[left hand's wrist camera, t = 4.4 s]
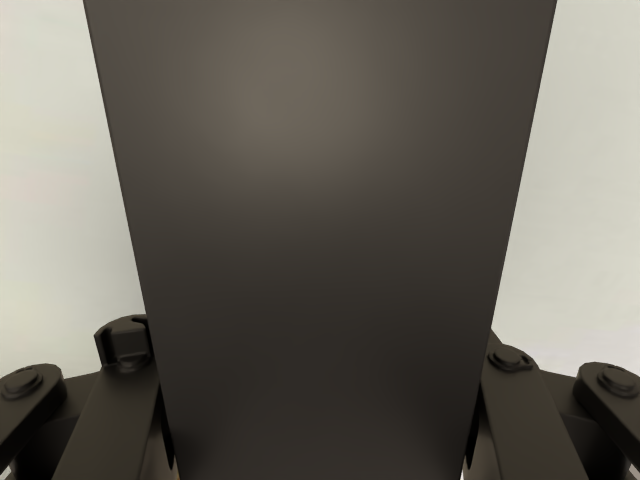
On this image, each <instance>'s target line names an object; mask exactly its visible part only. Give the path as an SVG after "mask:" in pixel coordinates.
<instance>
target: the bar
mask: <svg viewBox="0 0 640 480" xmlns="http://www.w3.org/2000/svg"><path fill="white" fill-rule="evenodd" d="M83 4H84V9H85V14H86V19H87V23H88V28H89V33H90V38H91V43H92V48H93V53H94V58H95V63H96V68H97V73H98V78H99V83H100V88H101V93H102V98H103V103H104V108H105V113H106V117H107V122H108V127H109V132H110V137H111V142H112V147H113V152H114V157H115V162H116V167H117V172H118V177H119V182H120V187H121V192H122V197H123V202H124V207H125V211H126V216H127V221H128V226H129V231H130V236H131V241H132V246H133V251H134V256H135V261H136V266H137V271H138V276H139V281H140V286H141V291H142V296H143V301H144V305H145V310H146V315H147V320H148V325H149V330H150V335H151V340H152V345H153V350H154V355H155V360H156V365H157V370H158V375H159V380H160V385H161V390H162V394H163V399H164V404H165V409H166V414H167V419H168V424H169V429H170V434H171V439H172V444H173V449H174V454H175V459H176V464H177V469H178V474H179V479H180V480H460V478H461V473H462V468H463V463H464V458H465V453H466V448H467V444H468V439H469V434H470V429H471V424H472V419H473V414H474V409H475V404H476V399H477V394H478V389H479V384H480V379H481V374H482V369H483V364H484V360H485V355H486V350H487V345H488V340H489V335H490V330H491V325H492V320H493V315H494V310H495V305H496V300H497V295H498V290H499V285H500V280H501V276H502V271H503V266H504V261H505V256H506V251H507V246H508V241H509V236H510V231H511V226H512V221H513V216H514V211H515V206H516V201H517V196H518V192H519V187H520V182H521V177H522V172H523V167H524V162H525V157H526V152H527V147H528V142H529V137H530V132H531V127H532V122H533V117H534V112H535V108H536V103H537V98H538V93H539V88H540V83H541V78H542V73H543V68H544V63H545V58H546V53H547V48H548V43H549V38H550V33H551V28H552V24H553V19H554V14H555V9H556V4H557V0H83Z"/></svg>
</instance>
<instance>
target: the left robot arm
mask: <svg viewBox="0 0 640 480" xmlns="http://www.w3.org/2000/svg"><path fill="white" fill-rule="evenodd" d="M94 338H95V342H96V346H97V350H98V353H99V357H100V361H101V364H102V367H101V370H100V371H98V372H95V373H91V374H86V375H81V376H77V377H72V378H67V379H64V378H63V375H62V372H61V369H60V368H59V367H57V366H56V365H53V364H46V363H45V364H38V365H31V366H27V367H25V368H21V369H18V370H16V371H14V372H12V373H10V374H8V375H6V376H4V377H3V378H1V379H0V475H1V474H2V473H3V471H4V470H5V469H6V468H7V467H8V465H9V466H10V469H11V473H10V474H9V475H8V476H7V478H6V479H5V480H176V479H177V470H178V469H177V464H176V459H175V454H174V449H173V444H172V439H171V434H170V429H169V424H168V419H167V414H166V409H165V404H164V399H163V394H162V390H161V385H160V380H159V375H158V370H157V365H156V360H155V355H154V350H153V345H152V340H151V335H150V330H149V325H148V320H147V315H146V314H140V315H130V316H126V317H121V318H119V319H116V320H114V321H111V322H109V323H107V324H106V325H104V326H103V327H101V328H100V329H99V330H98V331H97V332H96V333H95V334H94ZM631 463H632V464H633V465H634V467H635V468H636V469H637V470H638V471H639V472H640V377H639V376H637V375H636V374H634V373H631V372H629V371H627V370H625V369H624V368H621V367H618V366H614V365H612V364H607V363H600V362H590V363H585V364H583V365H582V366H581V367H579V370H578V374H577V377H576V378H575V377H571V376H566V375H561V374H556V373H552V372H547V371H544V370H540V369H539V367H538V365H537V364H536V362H535V361H534V360H533V358H531V357H530V356H529V355H527V354H526V353H525V352H523V351H521V350H519V349H517V348H515V347H513V346H509V345H505V344H502V342H501V341H500V340H499V338H498V337H497V336H496V334H495V333H494V332H493V331H492V329H491V330H490V335H489V340H488V345H487V350H486V355H485V360H484V364H483V369H482V374H481V379H480V384H479V389H478V394H477V399H476V404H475V409H474V414H473V419H472V424H471V429H470V434H469V439H468V444H467V448H466V453H465V458H464V463H463V468H462V469H463V478H464V480H637V479H636V478H635V477H634V476H633V474H632V473H631V472H630V471H629V468H630V466H631Z"/></svg>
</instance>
